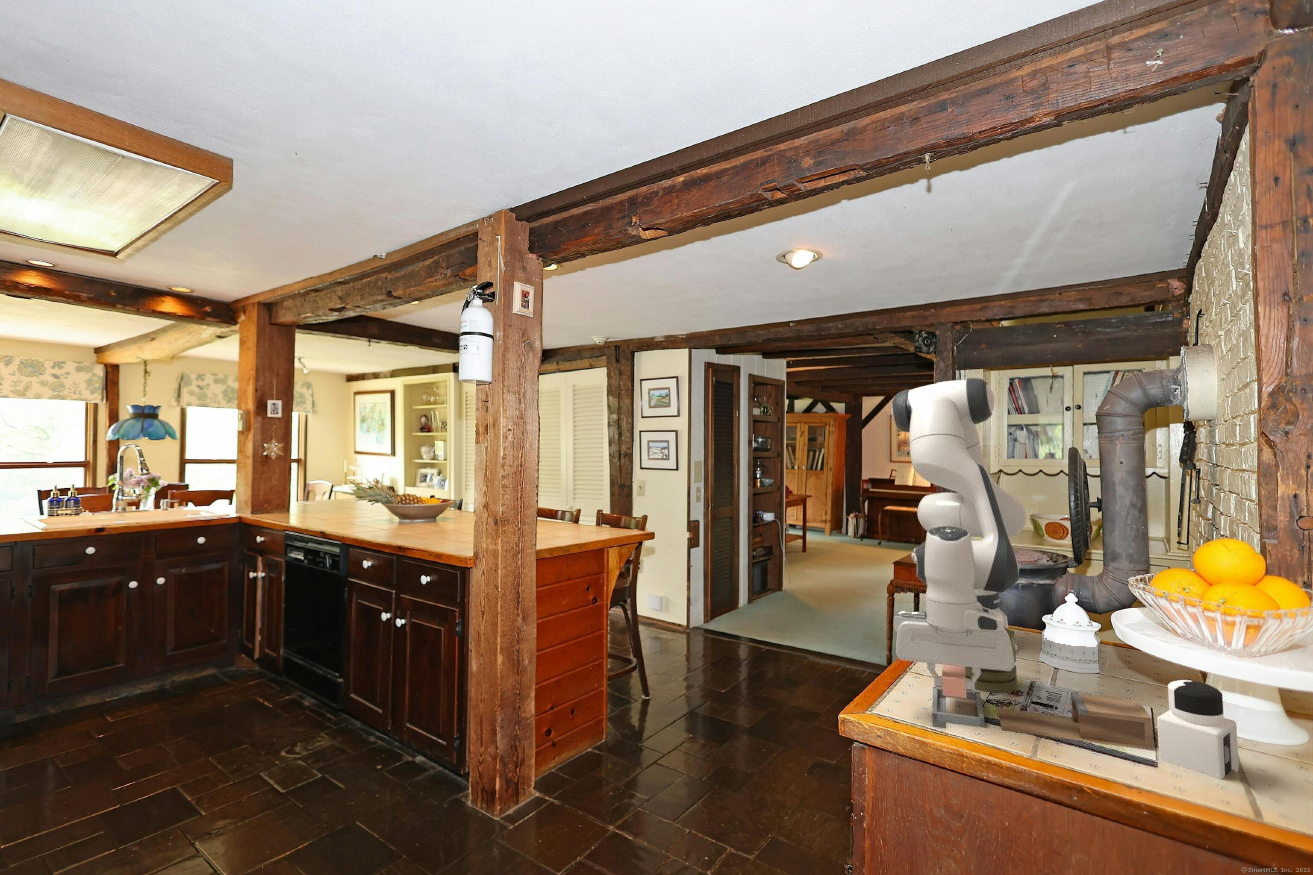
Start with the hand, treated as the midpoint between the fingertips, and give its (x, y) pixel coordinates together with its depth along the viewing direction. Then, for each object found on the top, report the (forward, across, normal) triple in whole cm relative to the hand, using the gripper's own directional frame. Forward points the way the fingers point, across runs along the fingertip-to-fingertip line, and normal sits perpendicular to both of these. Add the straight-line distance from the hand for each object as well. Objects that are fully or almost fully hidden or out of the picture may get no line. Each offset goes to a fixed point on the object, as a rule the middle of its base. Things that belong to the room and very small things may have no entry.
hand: (954, 687), depth 119 cm
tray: (+6, 0, +3) cm, 7 cm away
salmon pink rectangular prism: (+1, 0, +3) cm, 3 cm away
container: (+6, +34, -6) cm, 35 cm away
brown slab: (+6, +18, +1) cm, 19 cm away
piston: (+6, +6, +20) cm, 22 cm away
